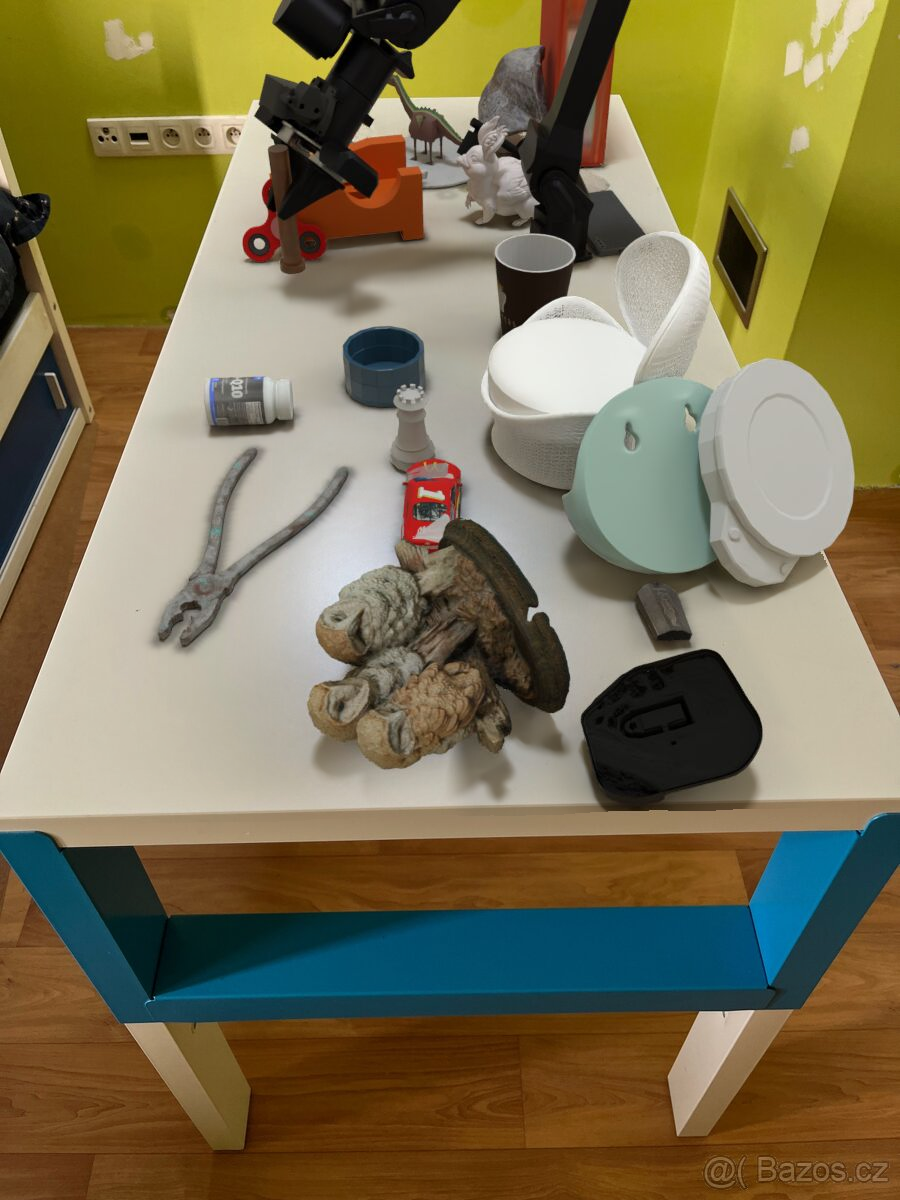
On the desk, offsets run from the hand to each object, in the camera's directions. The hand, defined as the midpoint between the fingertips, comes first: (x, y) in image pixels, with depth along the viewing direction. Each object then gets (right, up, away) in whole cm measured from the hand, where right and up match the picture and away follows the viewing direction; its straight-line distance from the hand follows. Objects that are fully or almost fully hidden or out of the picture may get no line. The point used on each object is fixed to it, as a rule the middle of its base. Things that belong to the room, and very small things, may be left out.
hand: (275, 214), depth 112 cm
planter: (+40, -41, -25) cm, 62 cm away
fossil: (+25, +29, +27) cm, 47 cm away
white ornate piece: (+22, +12, +28) cm, 37 cm away
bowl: (+13, -21, -6) cm, 25 cm away
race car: (+18, -37, -21) cm, 46 cm away
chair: (+33, -28, -13) cm, 45 cm away
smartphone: (+38, +12, +23) cm, 47 cm away
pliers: (+5, -30, -15) cm, 34 cm away
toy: (-1, +4, +11) cm, 11 cm away
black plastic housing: (+35, -52, -42) cm, 76 cm away
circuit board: (+27, +26, +37) cm, 52 cm away
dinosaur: (+17, +20, +33) cm, 42 cm away
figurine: (+28, +8, +21) cm, 36 cm away
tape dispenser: (+6, +6, +20) cm, 21 cm away
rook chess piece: (+16, -30, -15) cm, 37 cm away
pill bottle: (-5, -24, -12) cm, 27 cm away
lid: (+47, -33, -26) cm, 63 cm away
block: (+37, -45, -30) cm, 66 cm away
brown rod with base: (+1, -4, +6) cm, 7 cm away
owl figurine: (+25, -45, -38) cm, 63 cm away
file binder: (+38, +25, +38) cm, 59 cm away
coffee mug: (+29, -13, +2) cm, 32 cm away
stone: (+36, +17, +26) cm, 47 cm away
